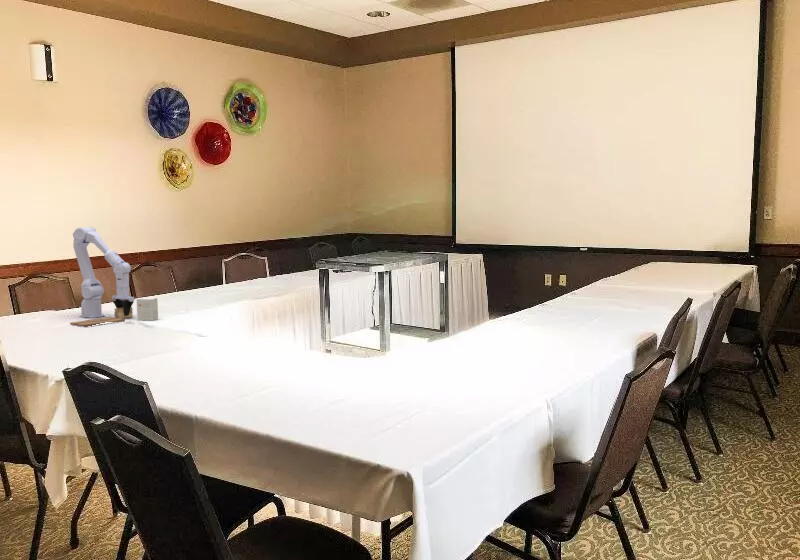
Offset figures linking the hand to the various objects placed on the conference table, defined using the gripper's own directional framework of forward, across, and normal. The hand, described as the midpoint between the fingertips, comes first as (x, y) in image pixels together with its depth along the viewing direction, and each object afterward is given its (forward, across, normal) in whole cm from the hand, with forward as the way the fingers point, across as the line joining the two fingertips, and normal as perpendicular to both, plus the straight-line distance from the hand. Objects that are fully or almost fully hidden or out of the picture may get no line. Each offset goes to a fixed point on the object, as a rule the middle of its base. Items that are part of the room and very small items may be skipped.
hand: (123, 315), depth 320 cm
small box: (+2, +14, +3) cm, 14 cm away
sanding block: (+2, 0, 0) cm, 2 cm away
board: (+1, +3, -16) cm, 16 cm away
